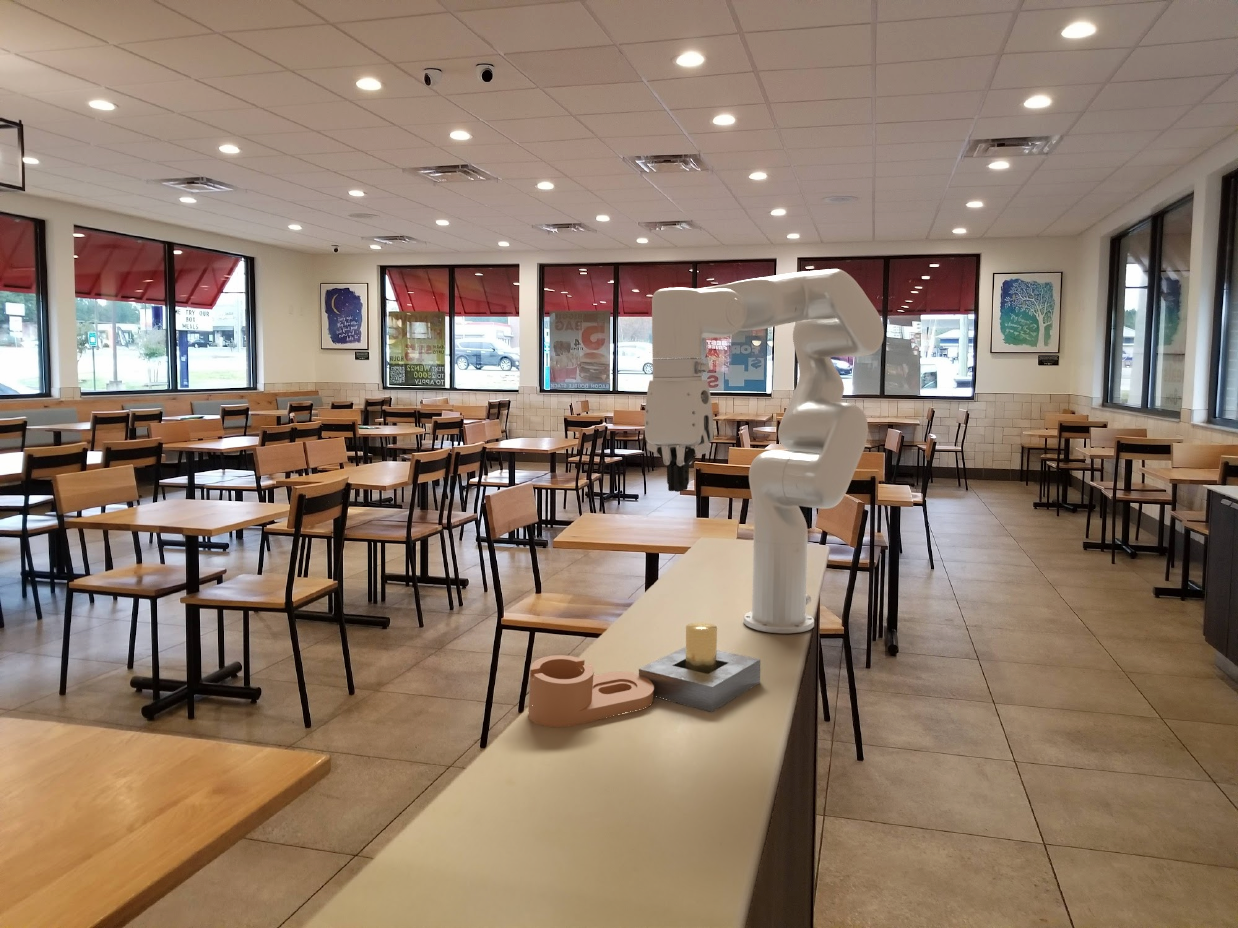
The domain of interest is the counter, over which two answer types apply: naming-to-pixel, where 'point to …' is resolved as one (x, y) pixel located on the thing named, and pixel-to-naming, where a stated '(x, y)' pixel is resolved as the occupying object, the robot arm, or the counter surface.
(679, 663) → the plate
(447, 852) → the counter surface
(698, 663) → the gold rounded cylinder
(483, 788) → the counter surface
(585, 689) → the bracket
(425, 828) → the counter surface
